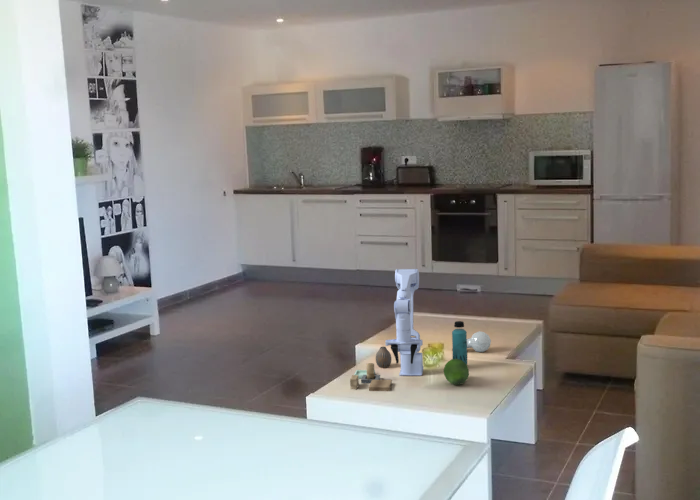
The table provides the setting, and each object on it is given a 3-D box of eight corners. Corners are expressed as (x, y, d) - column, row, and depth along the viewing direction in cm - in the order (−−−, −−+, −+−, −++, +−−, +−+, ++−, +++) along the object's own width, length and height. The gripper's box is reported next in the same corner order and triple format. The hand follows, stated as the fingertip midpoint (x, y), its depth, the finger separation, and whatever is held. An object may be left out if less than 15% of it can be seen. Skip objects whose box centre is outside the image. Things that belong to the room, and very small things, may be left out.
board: (391, 384, 328) (391, 379, 328) (389, 392, 318) (389, 387, 318) (372, 384, 329) (372, 379, 329) (369, 392, 320) (368, 387, 319)
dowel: (375, 379, 334) (374, 363, 333) (374, 381, 331) (373, 365, 330) (367, 379, 335) (366, 363, 334) (366, 381, 332) (365, 365, 331)
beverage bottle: (450, 369, 345) (449, 323, 343) (454, 364, 351) (453, 319, 349) (465, 370, 343) (464, 323, 340) (469, 365, 349) (468, 320, 346)
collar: (380, 378, 336) (380, 374, 336) (378, 383, 329) (378, 379, 329) (363, 378, 337) (363, 374, 337) (361, 383, 330) (361, 379, 330)
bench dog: (358, 384, 328) (358, 375, 328) (356, 389, 322) (356, 379, 322) (352, 384, 329) (352, 375, 328) (350, 389, 323) (350, 379, 322)
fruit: (444, 377, 334) (443, 353, 332) (468, 377, 332) (467, 353, 331) (444, 388, 319) (443, 363, 317) (469, 388, 318) (469, 363, 316)
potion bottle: (493, 355, 369) (460, 358, 372) (491, 339, 376) (459, 342, 379) (490, 342, 363) (457, 346, 366) (489, 326, 370) (456, 329, 373)
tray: (375, 373, 343) (375, 370, 343) (372, 378, 335) (372, 375, 335) (356, 373, 344) (356, 370, 344) (353, 378, 337) (353, 375, 336)
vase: (392, 364, 356) (391, 345, 355) (391, 368, 349) (390, 349, 348) (376, 364, 357) (375, 345, 356) (375, 369, 350) (374, 349, 349)
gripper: (384, 331, 316) (385, 365, 318) (421, 331, 314) (422, 365, 316) (386, 327, 323) (387, 360, 325) (422, 327, 321) (423, 360, 323)
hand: (404, 362), depth 321 cm, fingers open, 5 cm apart
